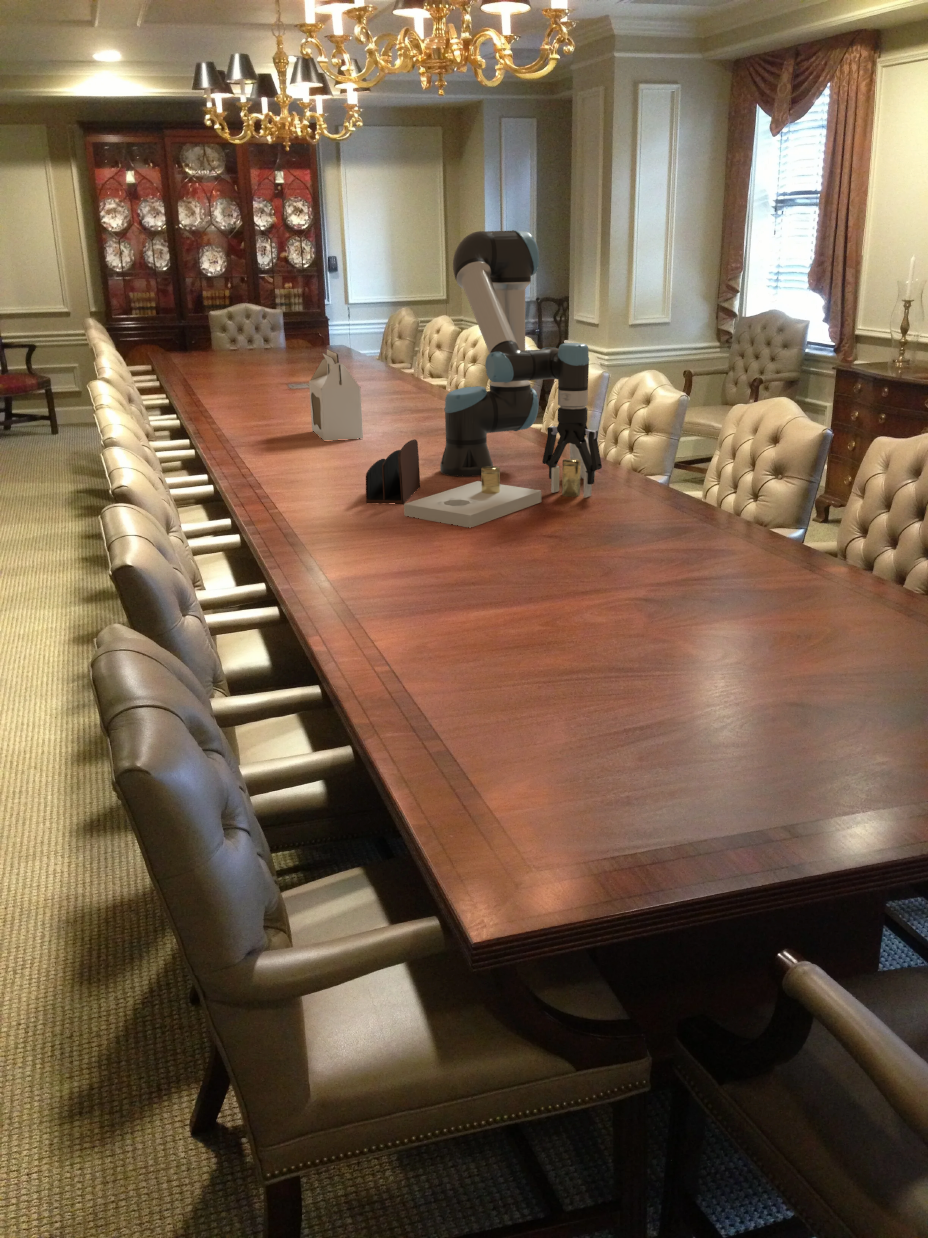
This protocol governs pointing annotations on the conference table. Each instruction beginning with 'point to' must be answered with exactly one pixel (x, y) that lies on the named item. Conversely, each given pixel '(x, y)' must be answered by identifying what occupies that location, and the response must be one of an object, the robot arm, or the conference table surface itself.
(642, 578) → the conference table surface
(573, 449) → the white cup
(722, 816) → the conference table surface
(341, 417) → the gable box
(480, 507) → the jig plate
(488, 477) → the cylinder
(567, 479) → the loose bushing
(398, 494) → the letter holder
